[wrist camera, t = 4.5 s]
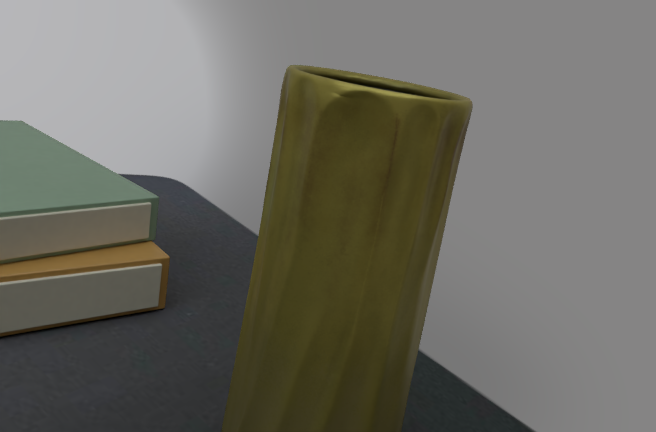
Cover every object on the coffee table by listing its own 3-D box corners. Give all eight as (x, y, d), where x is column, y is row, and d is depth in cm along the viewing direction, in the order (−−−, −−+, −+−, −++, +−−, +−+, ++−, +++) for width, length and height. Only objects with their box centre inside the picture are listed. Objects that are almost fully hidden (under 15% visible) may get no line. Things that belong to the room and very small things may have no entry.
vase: (212, 432, 23) (265, 55, 19) (364, 440, 24) (446, 87, 20) (204, 573, 17) (278, 74, 13) (405, 573, 18) (533, 117, 14)
